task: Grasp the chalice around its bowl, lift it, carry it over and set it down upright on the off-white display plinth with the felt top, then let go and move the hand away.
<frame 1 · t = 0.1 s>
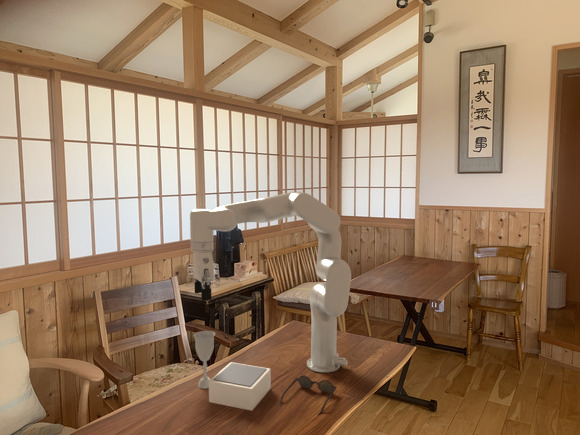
hand: (202, 296, 150), 31 cm above the table, tool pointing down, fingers open, 9 cm apart
eyeglasses: (307, 401, 144), on the table
chalice: (205, 385, 153), on the table
display plinth: (240, 395, 146), on the table
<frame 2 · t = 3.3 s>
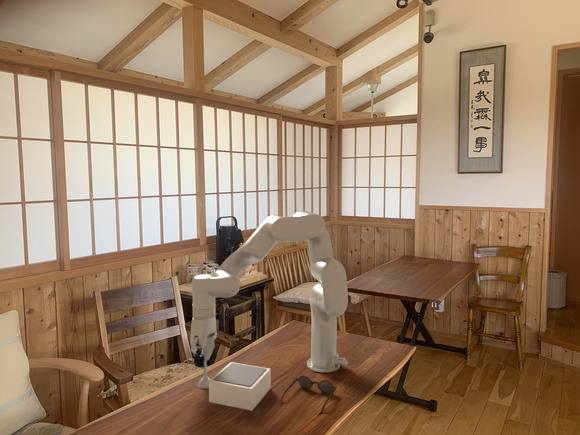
hand: (204, 362, 152), 8 cm above the table, tool pointing down, fingers closed on chalice, 6 cm apart
chalice: (205, 385, 153), on the table, touching gripper
everything else where it was.
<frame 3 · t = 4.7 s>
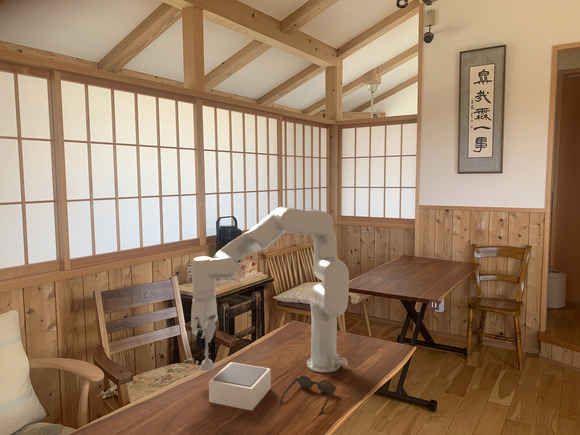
hand: (206, 344, 152), 14 cm above the table, tool pointing down, fingers closed on chalice, 6 cm apart
chalice: (207, 367, 153), point 6 cm above the table, touching gripper
everything else where it was.
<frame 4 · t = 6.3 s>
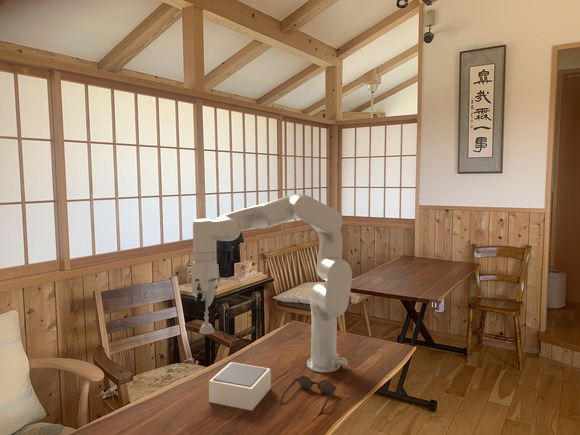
hand: (206, 308, 150), 27 cm above the table, tool pointing down, fingers closed on chalice, 6 cm apart
chalice: (206, 332, 151), point 19 cm above the table, touching gripper
everything else where it was.
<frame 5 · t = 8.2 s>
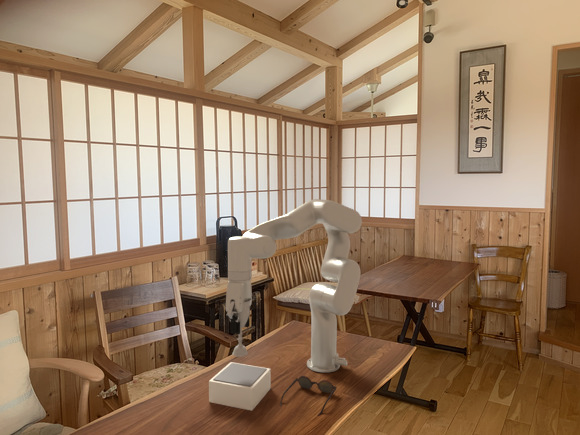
hand: (240, 329, 144), 22 cm above the table, tool pointing down, fingers closed on chalice, 6 cm apart
chalice: (240, 354, 145), point 14 cm above the table, touching gripper
everything else where it was.
when the fingers open (17 cm above the table, at t = 9.6 s): chalice drops 1 cm, resting on display plinth.
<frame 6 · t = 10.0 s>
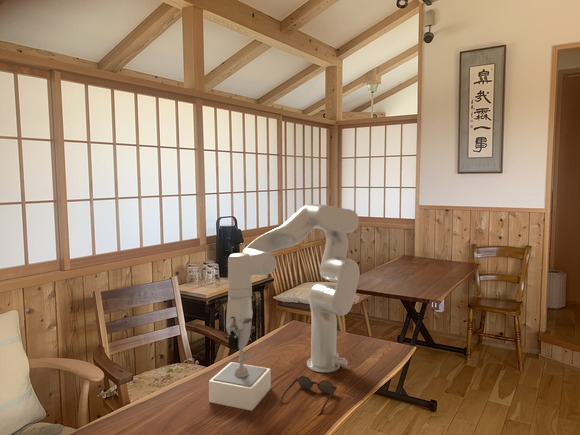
hand: (240, 343, 145), 18 cm above the table, tool pointing down, fingers open, 9 cm apart
chalice: (241, 374, 146), point 7 cm above the table, touching display plinth
everything else where it was.
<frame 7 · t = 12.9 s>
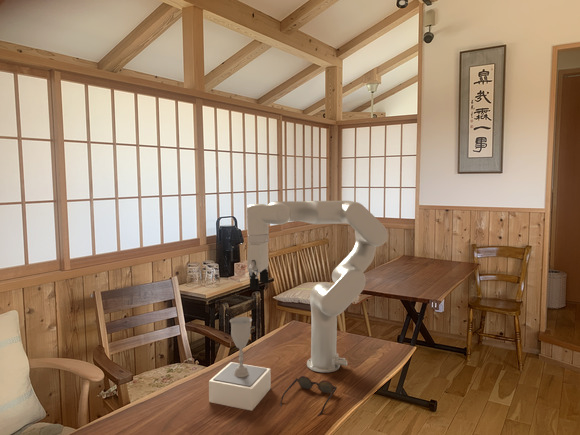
hand: (259, 286, 160), 32 cm above the table, tool pointing down, fingers open, 9 cm apart
nothing on the table moved.
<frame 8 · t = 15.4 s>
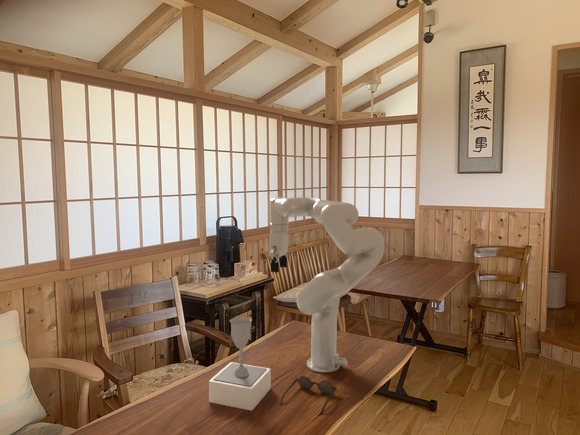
hand: (279, 269, 182), 33 cm above the table, tool pointing down, fingers open, 9 cm apart
nothing on the table moved.
at the end: chalice inside the target area on the display plinth (0.2 cm from its centre), point 7.1 cm above the display plinth's base; chalice tilted 0°; the gripper is holding nothing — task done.
